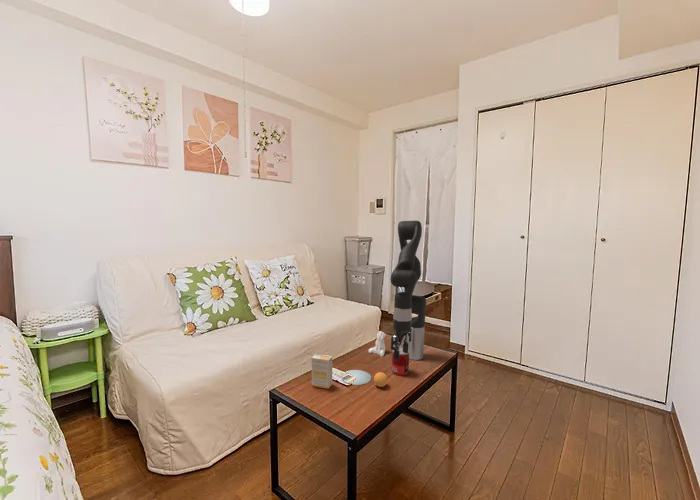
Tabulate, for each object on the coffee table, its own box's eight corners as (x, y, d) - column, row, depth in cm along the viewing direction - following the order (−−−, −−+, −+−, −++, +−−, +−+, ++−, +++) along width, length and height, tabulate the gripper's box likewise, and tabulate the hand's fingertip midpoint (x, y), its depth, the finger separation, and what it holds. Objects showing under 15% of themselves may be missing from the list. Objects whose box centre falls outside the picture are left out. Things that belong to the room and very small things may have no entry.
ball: (378, 381, 148) (378, 368, 147) (389, 385, 144) (390, 372, 144) (371, 386, 143) (371, 373, 142) (383, 391, 139) (383, 377, 139)
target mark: (352, 367, 161) (352, 367, 161) (376, 375, 153) (376, 375, 153) (335, 378, 149) (335, 378, 149) (360, 388, 141) (360, 387, 141)
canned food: (408, 377, 152) (409, 354, 151) (391, 375, 154) (391, 352, 153) (408, 369, 160) (409, 348, 158) (392, 367, 161) (392, 346, 160)
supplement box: (332, 384, 144) (333, 355, 143) (328, 389, 140) (328, 360, 138) (315, 381, 147) (316, 353, 146) (311, 386, 142) (311, 357, 141)
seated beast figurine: (367, 352, 179) (367, 331, 178) (375, 347, 186) (376, 327, 185) (382, 357, 173) (382, 335, 172) (390, 352, 180) (390, 331, 179)
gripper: (402, 312, 143) (400, 348, 144) (386, 320, 131) (384, 359, 133) (417, 315, 138) (416, 352, 140) (402, 323, 127) (401, 364, 128)
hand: (401, 355), depth 136 cm, fingers open, 8 cm apart
